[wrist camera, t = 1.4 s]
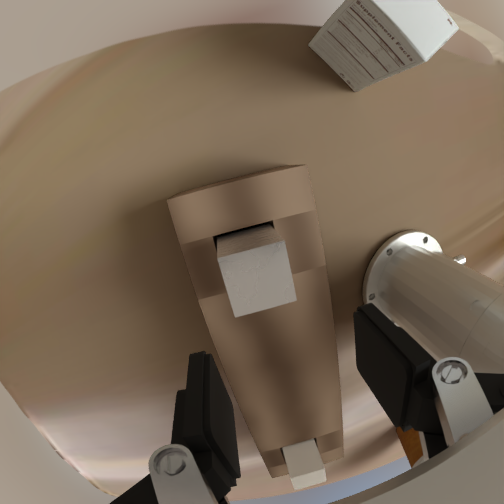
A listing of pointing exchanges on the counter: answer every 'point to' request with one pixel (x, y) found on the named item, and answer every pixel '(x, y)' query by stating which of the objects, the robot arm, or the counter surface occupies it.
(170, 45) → the counter surface
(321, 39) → the supplement box
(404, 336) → the robot arm
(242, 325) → the walnut block
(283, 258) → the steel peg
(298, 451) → the white peg
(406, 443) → the disposable coffee cup
